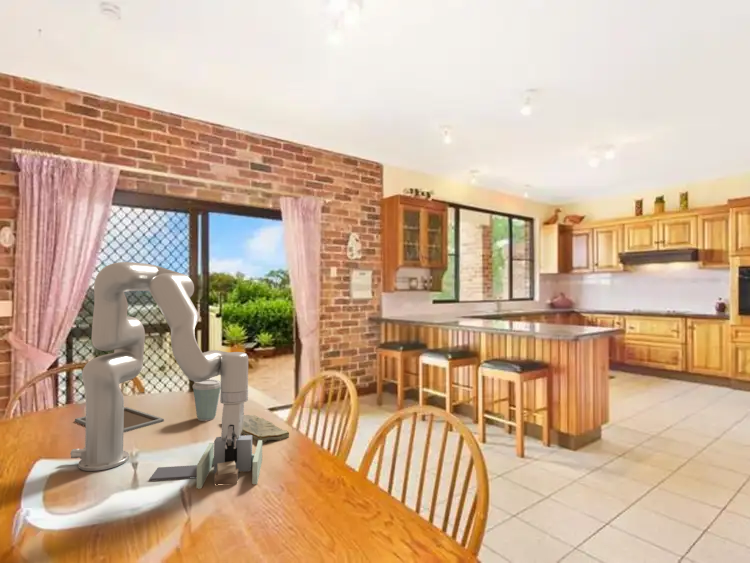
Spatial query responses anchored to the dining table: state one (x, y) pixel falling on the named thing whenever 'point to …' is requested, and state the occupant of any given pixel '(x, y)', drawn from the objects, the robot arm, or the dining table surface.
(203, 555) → the dining table surface
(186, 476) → the panel
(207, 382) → the disposable coffee cup
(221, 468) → the offcut
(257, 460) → the rack
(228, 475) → the offcut
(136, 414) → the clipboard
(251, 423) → the stone slab
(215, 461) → the tall grey upright block
